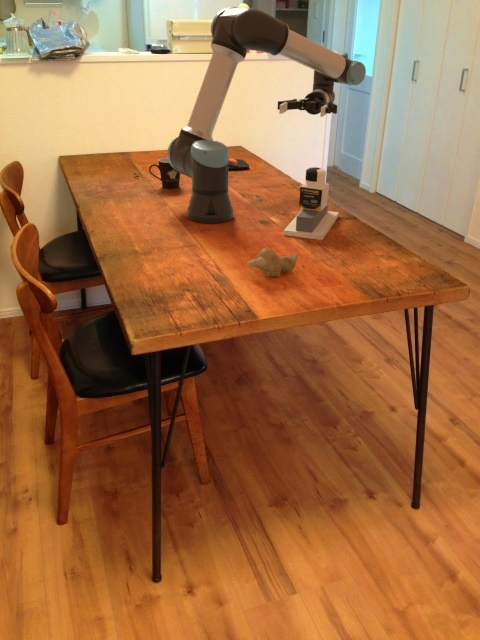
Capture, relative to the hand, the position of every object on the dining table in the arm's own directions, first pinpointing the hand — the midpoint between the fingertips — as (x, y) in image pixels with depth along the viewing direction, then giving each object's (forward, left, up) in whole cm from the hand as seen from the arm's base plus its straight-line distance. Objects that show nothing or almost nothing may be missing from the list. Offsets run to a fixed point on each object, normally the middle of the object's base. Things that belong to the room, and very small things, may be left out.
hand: (301, 110), depth 190 cm
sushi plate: (+28, +65, -33) cm, 78 cm away
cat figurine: (-51, -29, -32) cm, 67 cm away
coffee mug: (-11, +52, -32) cm, 62 cm away
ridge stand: (-12, -15, -32) cm, 37 cm away
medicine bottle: (-12, -15, -26) cm, 32 cm away
